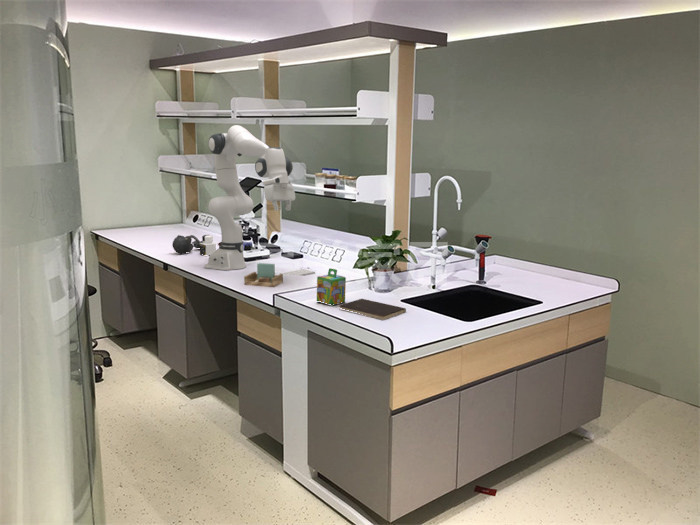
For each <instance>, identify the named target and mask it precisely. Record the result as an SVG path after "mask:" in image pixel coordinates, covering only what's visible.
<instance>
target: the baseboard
mask: <svg viewBox="0 0 700 525" xmlns="http://www.w3.org/2000/svg"><path fill="white" fill-rule="evenodd" d="M280 274H283V275H289V276H291V275H292V276H304V277H305V276H310V275H314V274H316V271H315V270H313V269H311V268H310V267H308V269H305V268H304V267H303V266H302V267H300V269H298V270H297V269H296V270H292V271H291V270H290V271H287V272H281V273H279V275H280Z"/></svg>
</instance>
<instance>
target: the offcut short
mask: <svg viewBox="0 0 700 525" xmlns="http://www.w3.org/2000/svg"><path fill="white" fill-rule="evenodd" d="M270 281H271V278H268V277H260V278H259V279H258V282H270Z"/></svg>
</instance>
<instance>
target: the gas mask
mask: <svg viewBox="0 0 700 525" xmlns="http://www.w3.org/2000/svg"><path fill="white" fill-rule="evenodd" d="M192 239H193V240H192ZM200 243H203V242H202V240H201V241H200V240H199V238H198V237H197V236H195V235H194V234H190V235H186V236H183V235H180V234H178V235H177V236H176V237H175V238H174V239H173V240H172V248H173V250H174V251H175V253H176V254H178V253H180V254H182V253H186V252H189V253H191V252H192V251H193V249H194V248H195V249H197V248H200ZM180 254H179V255H180Z"/></svg>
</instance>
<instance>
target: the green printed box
mask: <svg viewBox="0 0 700 525" xmlns="http://www.w3.org/2000/svg"><path fill="white" fill-rule="evenodd" d="M332 272H333V273H332ZM337 273H338V269H336V268H328V272H327V274H324V275H319V276H317V278H316V301H321V302H324V303H327V304H331V305H333V304H337V303H341V302H345V303H346V286H347V285H346V280H347V277H345V276H343V275H339V274H337ZM341 304H342V303H341ZM337 305H338V304H337ZM333 306H334V305H333Z"/></svg>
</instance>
